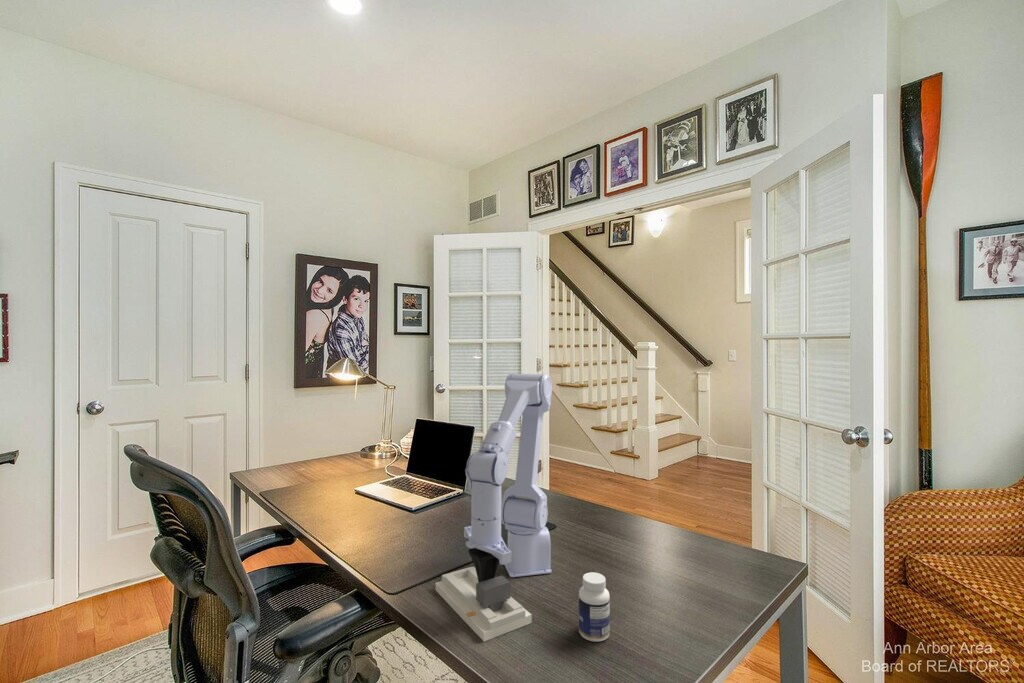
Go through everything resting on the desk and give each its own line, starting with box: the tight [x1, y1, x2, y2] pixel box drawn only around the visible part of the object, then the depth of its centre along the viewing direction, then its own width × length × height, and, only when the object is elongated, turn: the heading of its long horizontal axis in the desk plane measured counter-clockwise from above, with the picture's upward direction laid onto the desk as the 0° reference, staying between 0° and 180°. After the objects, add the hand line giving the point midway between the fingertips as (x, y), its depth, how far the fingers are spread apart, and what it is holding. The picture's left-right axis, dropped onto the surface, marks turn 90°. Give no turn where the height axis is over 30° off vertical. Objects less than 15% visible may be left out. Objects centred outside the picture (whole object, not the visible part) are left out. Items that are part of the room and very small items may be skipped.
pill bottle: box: [578, 571, 611, 643], centre depth 82 cm, size 5×5×10 cm
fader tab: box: [476, 575, 511, 611], centre depth 87 cm, size 3×6×5 cm, turn 123°
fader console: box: [435, 565, 533, 642], centre depth 91 cm, size 20×10×3 cm, turn 33°
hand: (485, 587), depth 89 cm, fingers closed
